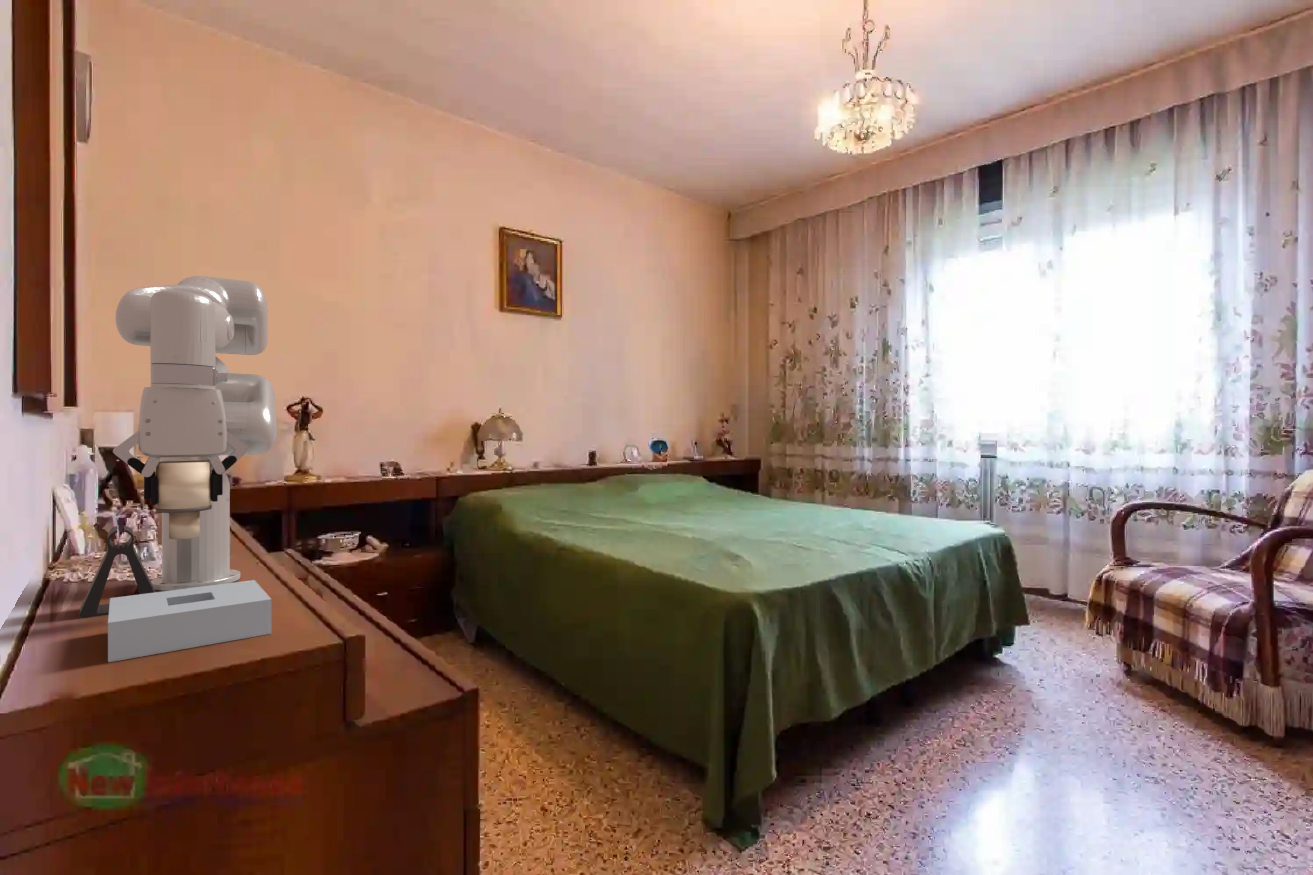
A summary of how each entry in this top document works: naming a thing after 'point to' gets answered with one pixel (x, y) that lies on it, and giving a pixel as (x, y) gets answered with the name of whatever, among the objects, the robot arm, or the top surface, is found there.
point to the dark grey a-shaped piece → (96, 589)
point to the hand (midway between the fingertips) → (184, 501)
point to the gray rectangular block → (186, 619)
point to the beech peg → (183, 495)
